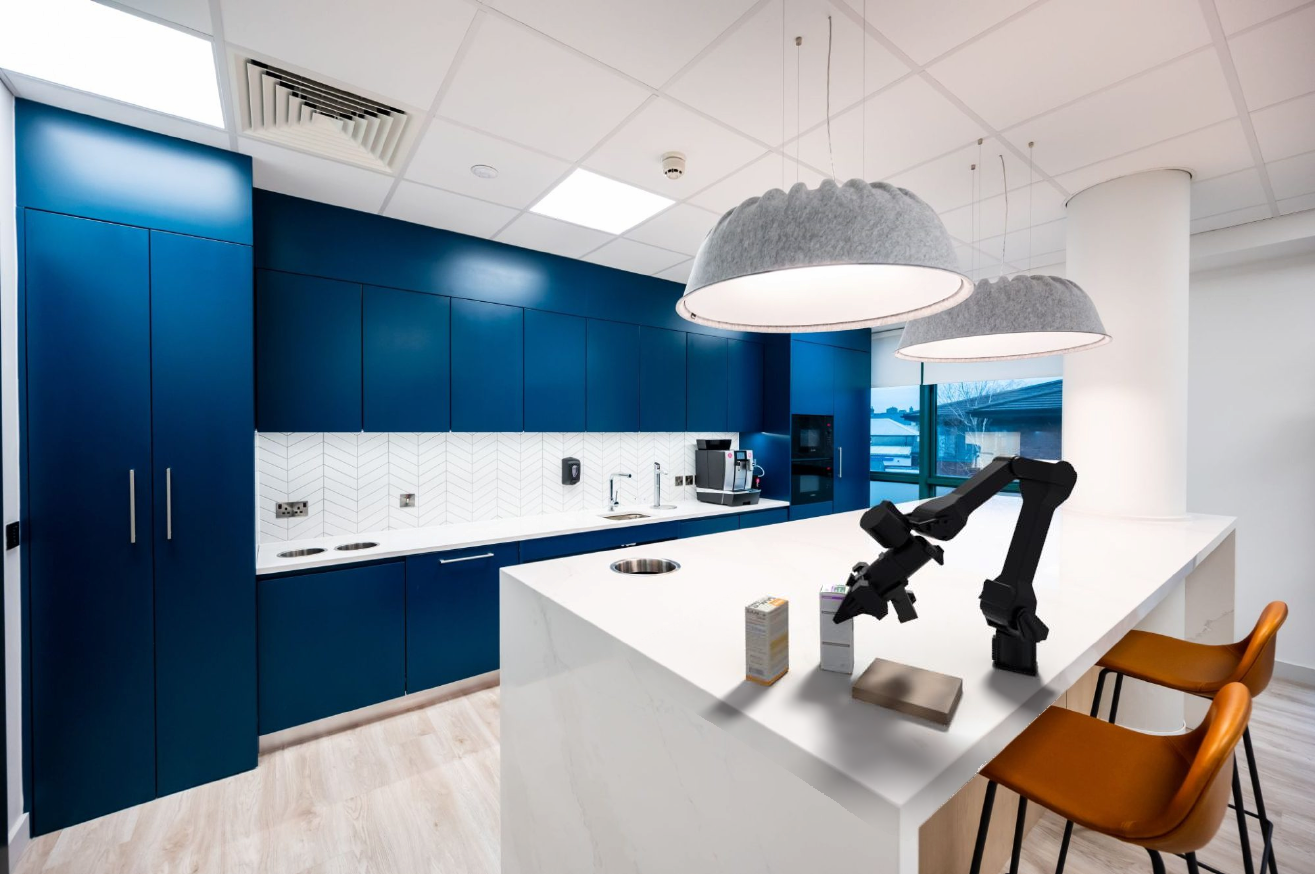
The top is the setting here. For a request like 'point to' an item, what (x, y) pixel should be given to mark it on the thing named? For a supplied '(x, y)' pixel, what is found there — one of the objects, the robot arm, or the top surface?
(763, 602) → the supplement box
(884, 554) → the robot arm
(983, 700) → the top surface
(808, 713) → the top surface
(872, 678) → the walnut block
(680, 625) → the top surface
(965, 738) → the top surface
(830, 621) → the syrup box
